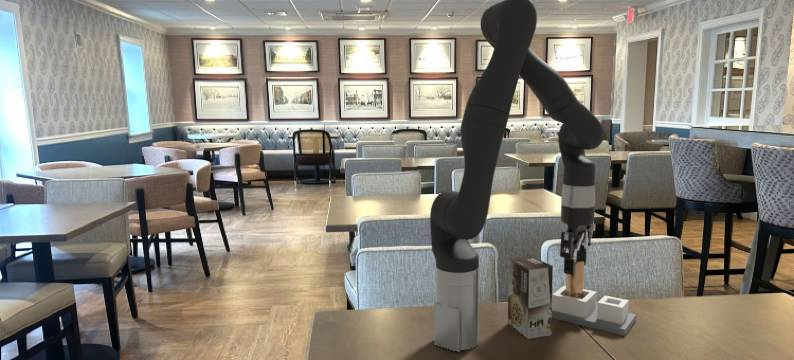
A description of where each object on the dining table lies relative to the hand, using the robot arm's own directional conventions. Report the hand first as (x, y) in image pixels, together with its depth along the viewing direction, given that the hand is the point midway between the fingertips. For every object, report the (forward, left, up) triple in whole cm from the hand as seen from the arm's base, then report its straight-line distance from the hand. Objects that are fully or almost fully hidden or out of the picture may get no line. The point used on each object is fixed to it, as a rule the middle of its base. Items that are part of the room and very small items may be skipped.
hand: (575, 269), depth 122 cm
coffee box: (-14, +5, -12) cm, 19 cm away
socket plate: (0, -5, -12) cm, 12 cm away
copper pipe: (0, 0, -10) cm, 10 cm away
